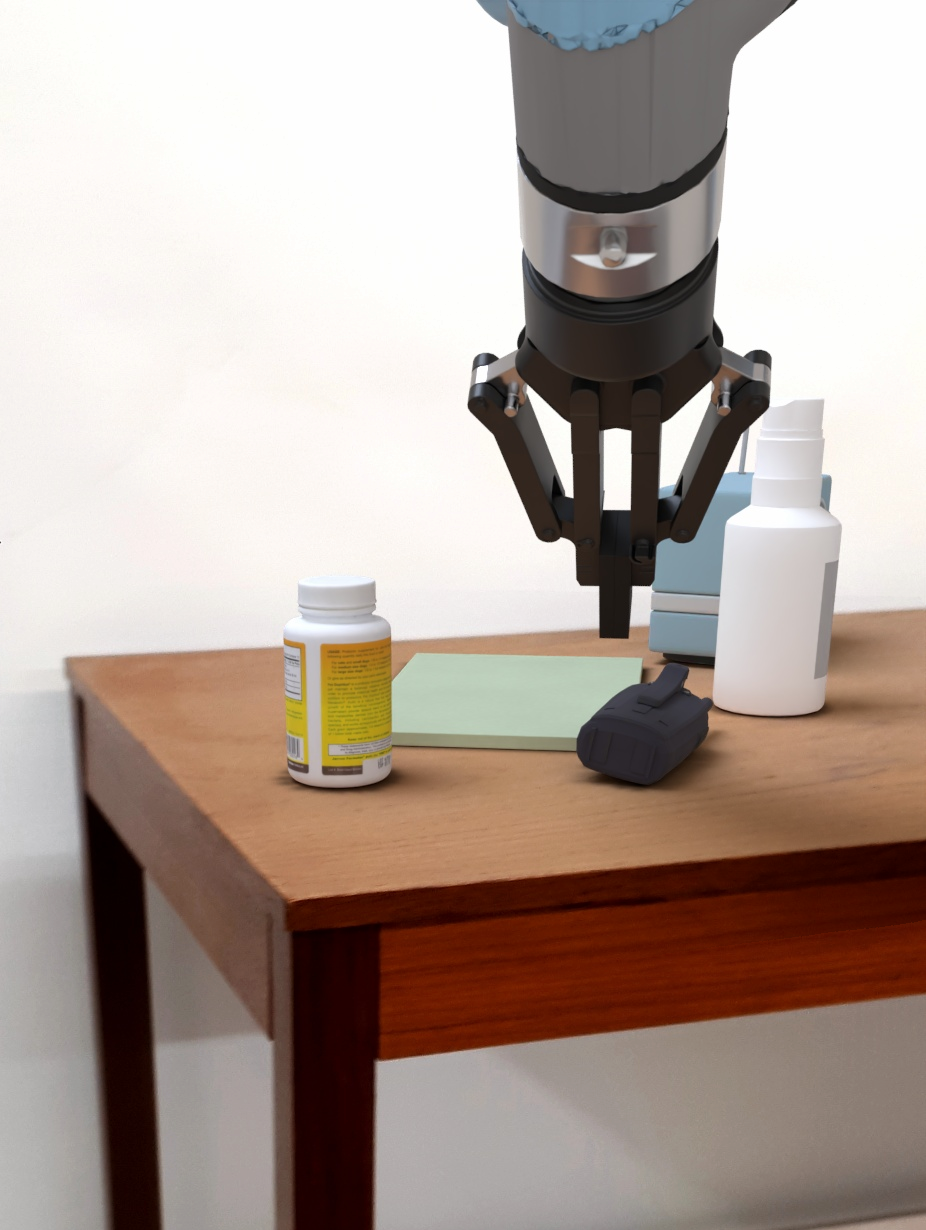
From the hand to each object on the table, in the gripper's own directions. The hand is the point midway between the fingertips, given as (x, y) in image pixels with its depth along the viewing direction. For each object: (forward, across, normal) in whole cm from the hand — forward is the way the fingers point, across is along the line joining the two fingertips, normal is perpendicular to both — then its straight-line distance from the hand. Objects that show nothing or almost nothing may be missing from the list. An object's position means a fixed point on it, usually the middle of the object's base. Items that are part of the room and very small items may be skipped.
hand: (615, 616), depth 85 cm
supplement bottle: (+4, -14, -8) cm, 17 cm away
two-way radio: (+2, +1, -6) cm, 6 cm away
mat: (+19, -7, +7) cm, 21 cm away
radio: (+34, +8, +22) cm, 41 cm away
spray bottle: (+20, +9, +8) cm, 23 cm away
